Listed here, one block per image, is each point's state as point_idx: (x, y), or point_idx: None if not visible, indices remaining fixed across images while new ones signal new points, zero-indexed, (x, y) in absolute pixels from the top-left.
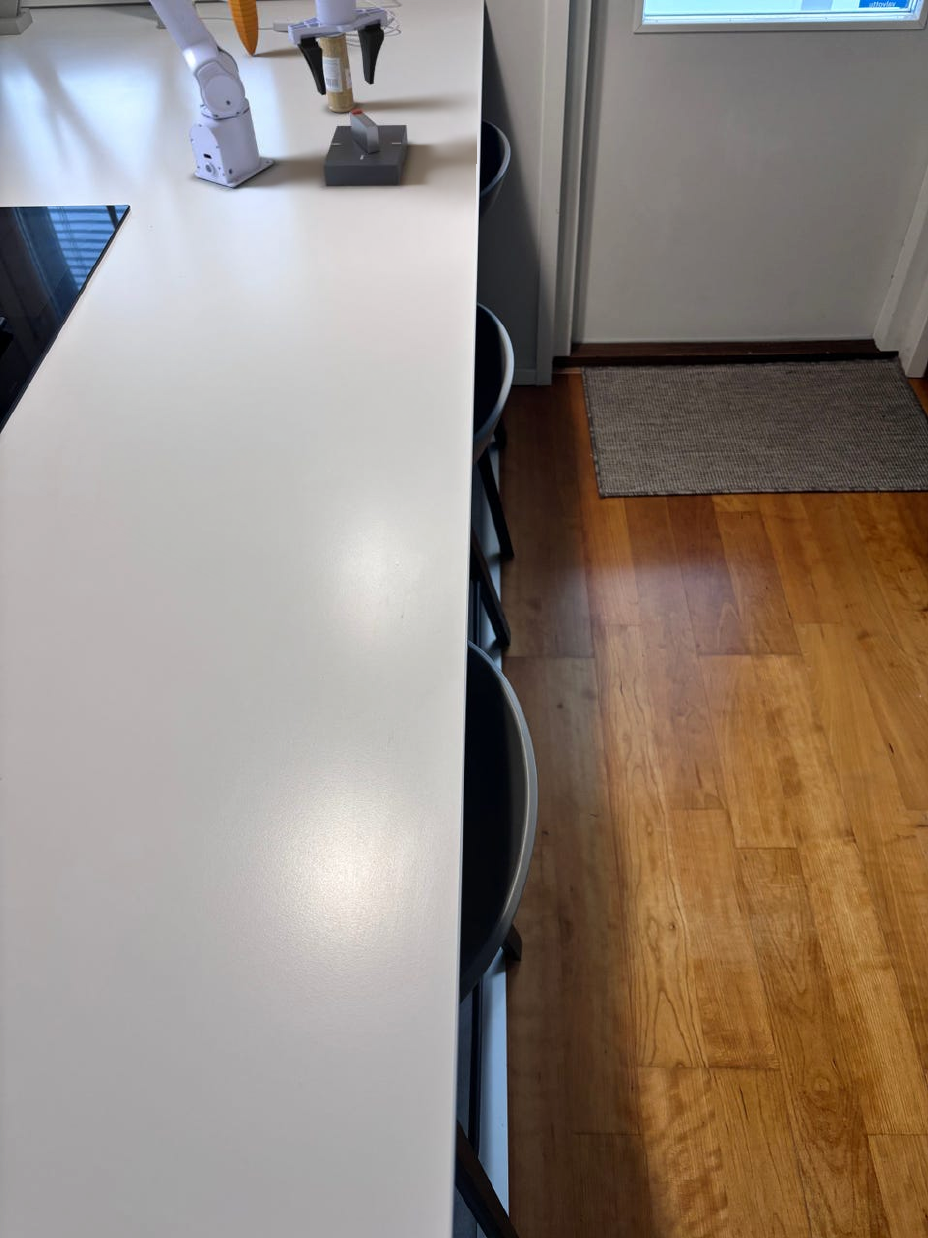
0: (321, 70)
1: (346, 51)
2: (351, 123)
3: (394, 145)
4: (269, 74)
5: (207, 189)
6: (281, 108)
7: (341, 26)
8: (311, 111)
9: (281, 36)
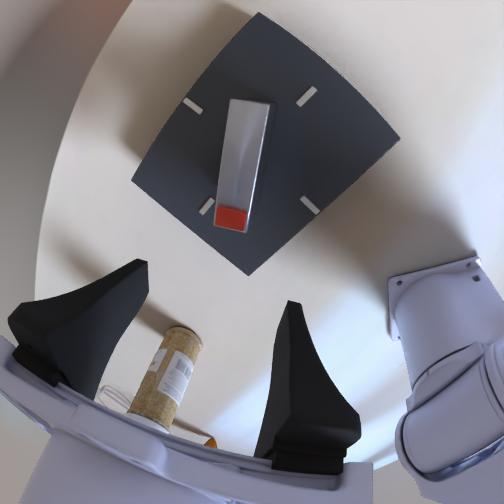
0: (298, 352)
1: (140, 390)
2: (253, 212)
3: (200, 103)
4: (218, 420)
5: (490, 278)
6: (252, 382)
7: (142, 463)
8: (225, 358)
9: (176, 435)
